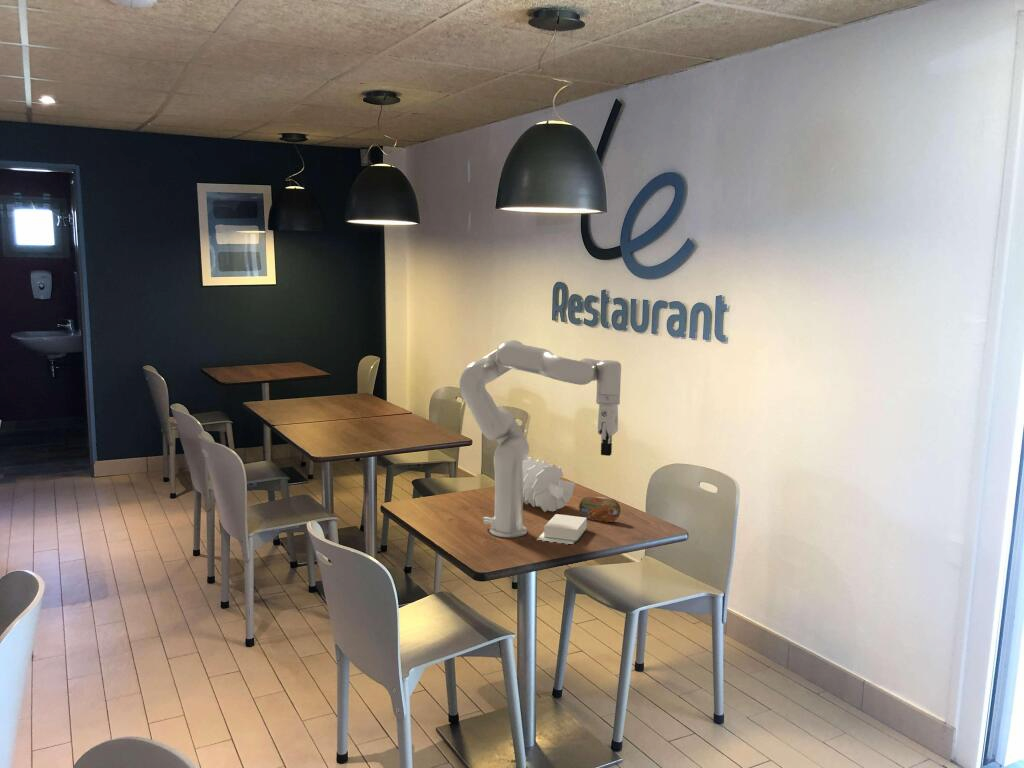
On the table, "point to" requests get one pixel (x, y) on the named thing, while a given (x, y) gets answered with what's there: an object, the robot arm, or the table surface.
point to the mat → (554, 540)
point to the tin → (599, 508)
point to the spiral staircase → (545, 485)
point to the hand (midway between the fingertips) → (606, 454)
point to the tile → (565, 527)
